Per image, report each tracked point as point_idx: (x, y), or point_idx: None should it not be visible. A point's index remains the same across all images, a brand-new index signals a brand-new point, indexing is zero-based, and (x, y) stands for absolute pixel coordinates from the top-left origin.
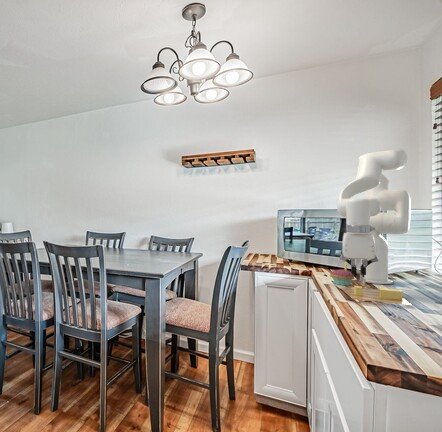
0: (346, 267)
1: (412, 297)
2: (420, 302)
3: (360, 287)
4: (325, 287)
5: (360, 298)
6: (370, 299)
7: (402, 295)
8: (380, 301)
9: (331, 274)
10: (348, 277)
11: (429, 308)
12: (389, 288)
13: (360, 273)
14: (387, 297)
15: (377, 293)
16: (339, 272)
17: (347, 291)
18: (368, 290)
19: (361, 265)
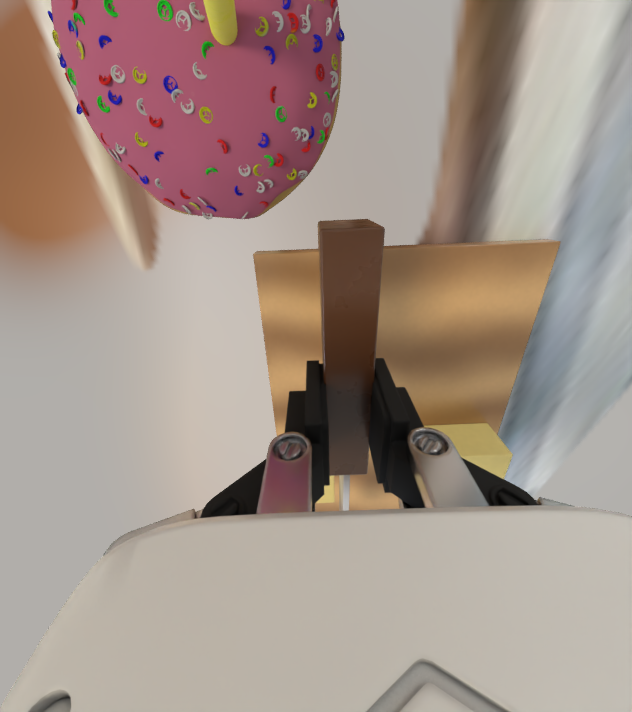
0: (228, 4)
1: (595, 308)
2: (558, 406)
3: (326, 496)
4: (140, 259)
5: (317, 503)
6: (351, 502)
7: None
8: None
9: (93, 126)
10: (276, 201)
11: (527, 481)
12: (468, 457)
13: (351, 472)
14: None
15: (416, 379)
16: (171, 175)
17: (274, 404)
18: (391, 316)
19: (393, 452)
